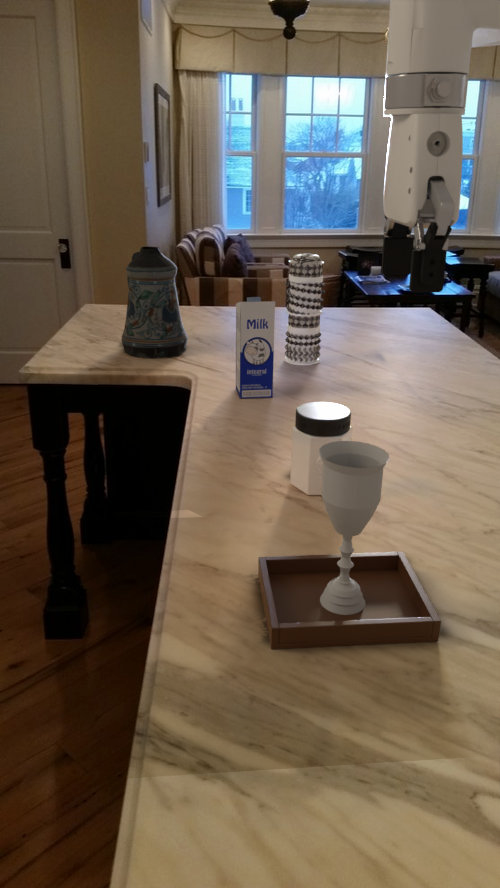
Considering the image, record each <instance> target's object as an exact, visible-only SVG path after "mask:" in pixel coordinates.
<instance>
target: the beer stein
mask: <svg viewBox="0 0 500 888" xmlns="http://www.w3.org/2000/svg"><path fill="white" fill-rule="evenodd" d="M125 271H126V275H127V277H126V279H127V286H128V287H127V288H128V294H127V303H126V315H125V323H124V328H123V332H122V334H121V343H122V348H123V351H124V354H126V355H128V356H131V357H133V356H135V357H134V358H139V357H142V358H141V359H165V358H164V357H168V358H172V357H171V356H173V357H177V356H181V355H182V354H183V353H185V352H186V351H187V343H188V339H189V337H188V334H187V332H186V329H185V326H184V323H183V320H182V315H181V314H182V313H181V310H180V303H179V298H178V291H177V286H176V276H177V274H178V267H177V265H176V264H175V262H173V261H172V260H171V259H170V258H168V257H167V256H166V255H165V254H163V252H161V251H160V247H158V246H141V247H140V249H139V251H136V252H134V253H132V255H131V261H130V262H129V263H128V265H127V266H126V268H125ZM176 355H177V356H176Z"/></svg>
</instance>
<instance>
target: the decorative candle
mask: <svg viewBox="0 0 500 888" xmlns="http://www.w3.org/2000/svg"><path fill="white" fill-rule="evenodd" d="M288 262H289V265H290V267H289V274H288V279H287V280H286V281H285V285H286V287H287V289H286V290H285V291H286V292H285V294H286V297H285V300H286V302H287V304H286V309H285V310H286V314H288V317H287V319H288V321H287V324H286V325H287V326H286V331H285V335H286V336H287V337H286V338H285V339H284V340H285V342H286V344H285V346H284V349H285V352H284V356H285V357H284V361H285V362H286V363H287V364H290V365H293V366H314V365H317V364H319V363H320V362H321V361H320V356H321V353H320V351H321V348H322V347H321V345H320V343H321V342H322V340H321V336H322V332H321V315H322V314H323V311H322V310H323V308H324V306H323V305H322V303H324V299H323V298H322V295H324V294H325V293H326V292H325V290H324V289H323V288H325V287H326V284H325V283H324V275H323V271H324V270H323V269H324V265H323V264H324V263H325V261H323V260H322V259H321V257H320V256H319V255H318V254H315V253H296V254H295V255H293V257H292V258H291V260H288Z"/></svg>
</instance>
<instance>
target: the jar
mask: <svg viewBox="0 0 500 888" xmlns="http://www.w3.org/2000/svg"><path fill="white" fill-rule="evenodd" d="M351 421H352V411H351V409H350V408H349V407H347V406H344V405H343V404H339V403H336V402H329V401H311V402H306V403H303V404H300V405H299V406H297V407H296V409H295V423H294V426H293V427H292V428H291V429H292V430H291V454H290V476H289V478H290V479H289V480H290V482H289V483H290V485H292V486H293V487H295V488H296V489H298V490H299V491H301V492H302V493H303V494H305V495H307V496H322V477H323V461H322V459H321V457H320V455H319V449H320V448H321V447H322V446H323V445H325V444H327V443H331V442H336V441H353V428H354V427H353V426H351Z"/></svg>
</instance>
